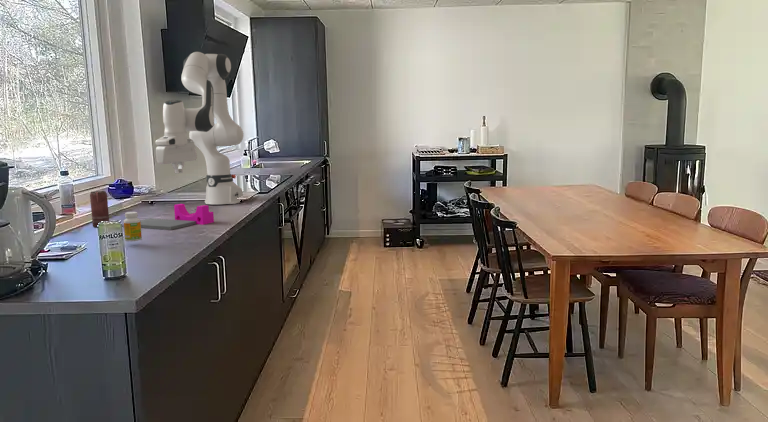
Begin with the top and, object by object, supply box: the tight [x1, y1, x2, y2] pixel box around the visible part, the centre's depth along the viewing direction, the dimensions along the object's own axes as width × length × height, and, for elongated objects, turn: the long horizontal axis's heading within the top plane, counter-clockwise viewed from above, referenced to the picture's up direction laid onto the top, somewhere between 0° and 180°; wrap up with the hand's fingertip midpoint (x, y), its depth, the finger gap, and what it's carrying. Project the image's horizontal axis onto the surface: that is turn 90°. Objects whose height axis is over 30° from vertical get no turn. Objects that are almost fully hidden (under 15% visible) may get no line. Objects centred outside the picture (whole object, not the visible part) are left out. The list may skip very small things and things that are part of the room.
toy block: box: [173, 203, 215, 226], centre depth 236 cm, size 15×6×8 cm, turn 64°
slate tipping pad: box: [140, 217, 197, 231], centre depth 231 cm, size 14×24×1 cm, turn 67°
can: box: [89, 190, 110, 228], centre depth 230 cm, size 6×6×14 cm
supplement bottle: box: [123, 211, 143, 242], centre depth 200 cm, size 5×5×10 cm
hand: (178, 173), depth 241 cm, fingers closed
